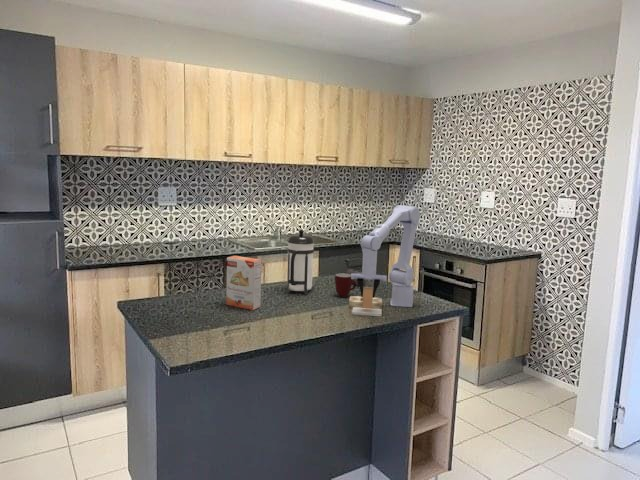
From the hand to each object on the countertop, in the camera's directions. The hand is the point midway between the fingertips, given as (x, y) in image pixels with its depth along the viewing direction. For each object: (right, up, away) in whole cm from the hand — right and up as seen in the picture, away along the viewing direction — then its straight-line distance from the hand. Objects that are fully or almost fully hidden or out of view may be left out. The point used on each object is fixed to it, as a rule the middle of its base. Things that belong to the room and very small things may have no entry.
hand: (367, 296), depth 197 cm
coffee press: (-30, -2, +30) cm, 42 cm away
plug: (0, -4, +1) cm, 4 cm away
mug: (-8, -3, +26) cm, 28 cm away
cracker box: (-52, -5, +4) cm, 53 cm away
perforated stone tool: (-1, 0, +49) cm, 49 cm away
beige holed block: (0, -5, +10) cm, 12 cm away
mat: (0, -7, +1) cm, 7 cm away
